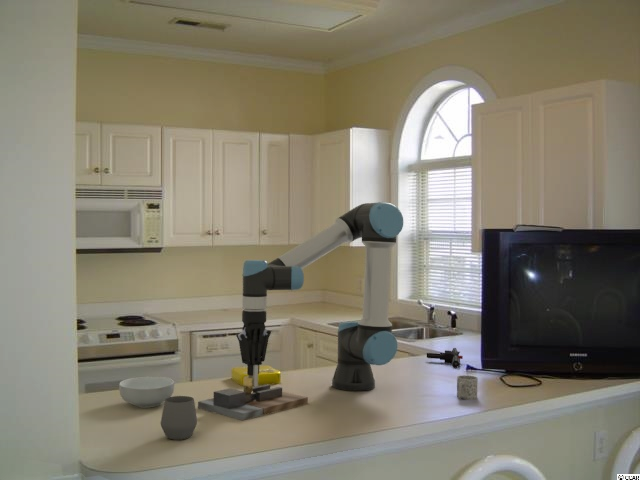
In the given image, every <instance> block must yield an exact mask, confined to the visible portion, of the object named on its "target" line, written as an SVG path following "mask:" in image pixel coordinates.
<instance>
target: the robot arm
mask: <svg viewBox="0 0 640 480" xmlns="http://www.w3.org/2000/svg"><path fill="white" fill-rule="evenodd" d="M403 227H404V217H403V214H402V212H401V210H400V209H399V208H398V207H397V206H396V205H394V204H392V203H390V202H384V201H382V202H380V201H378V202H370V203H366V202H365V203H361V204H359V205H356V206H355V207H353V208H352V209H350V210H348V211H347V212H345V213H344V214H342V215H340V216H339V217H337V218H336V219H335V220H334V223H333V224H332V225H330V226H327V228H325V229H323V230H321V231H320V232H318V233H317V234H314V236H311V237H310V238H308V239H307V240H305V241H304V242H301V243H300V244H299V245H296V246H295V247H293V248H291V249H290V250H288V251H287V252H285V253H284V254H282V255H280V256H278V257H277V258H275V259H273V260H272V261H270V262H269V263H268V261H266V260H265V259H264V260H263V259H246V260H245V261H243V267H242V274H241V275H242V300H241V301H242V302H241V304H242V309H244V310H242V312H241V321H242V323H243V326H242V331H241V332H240V333H237V334H236V336H235V337H236V339H237V340H238V346H239V349H240V350H239V351H240V356H241V363H242V364H245V365H247V366H246V367H247V370H248V371H247V374H248V375H249V376H251V377H253V387H257V386H259V385H258V374H259V366H262V364H263V362H265V360H266V354H267V348H268V342H269V339H270V336H271V334H272V331H271V330H269V329H267V328H266V324H265V323H266V322H267V311H266V309H267V307H268V306H267V303H268V302H267V299H268V298H267V296H268V293H267V292H268V291H291V292H292V291H296V290H300V289H302V287H303V286H304V281H305V276H304V275H305V274H304V270H303V269H305V268H306V267H308V266H310V265H311V264H312V263H314V262H316V261H317V260H319V259H320V258H322V257H324V256H325V255H327V254H329V253H330V252H332V251H333V250H335V249H337V248H339V247H340V246H342V245H343V244H345V243H349V244H350V243H352V242H354V241H356V240H358V239H361V243H362V244H363V245H364V247H365V261H364V262H365V263H364V278H363V279H364V280H363V297H362V298H363V300H362V301H363V303H362V317H361V319H360V320H359V321H343V322H340V323H339V324H338V328H337V364H336V368H335V370H334V373H333V377H332V379H331V380H332V382H331V386H332V387H333V388H334V389H337V390H341V391H348V392H349V391H351V392H352V391H354V392H358V391H359V392H360V391H361V392H363V391H369V390H373V389H374V388H376V380H375V377H374V373H373V369H372V366H384V365H387V364H388V363H389V362H391V361H392V360H393V359H394V357H395V356H396V354H397V352H398V345H399V344H398V339H397V338H396V337H395V335H394V334H393V323H392V322H390V320H389V308H390V307H389V306H390V305H389V304H390V286H391V285H390V283H391V282H390V281H391V265H392V264H391V263H392V262H391V261H392V248H393V247H394V246H395V245H397V236H399V235H400V233H401V232H402V230H403V229H404V228H403ZM371 365H372V366H371Z"/></svg>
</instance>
